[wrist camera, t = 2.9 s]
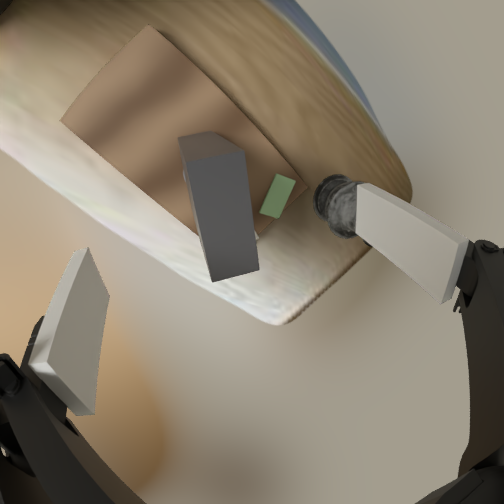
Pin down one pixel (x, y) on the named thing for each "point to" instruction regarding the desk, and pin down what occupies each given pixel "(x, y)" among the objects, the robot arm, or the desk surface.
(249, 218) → the grey block
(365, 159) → the desk surface
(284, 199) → the dial marks
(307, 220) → the desk surface
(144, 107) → the board
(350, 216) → the dark grey chess piece
